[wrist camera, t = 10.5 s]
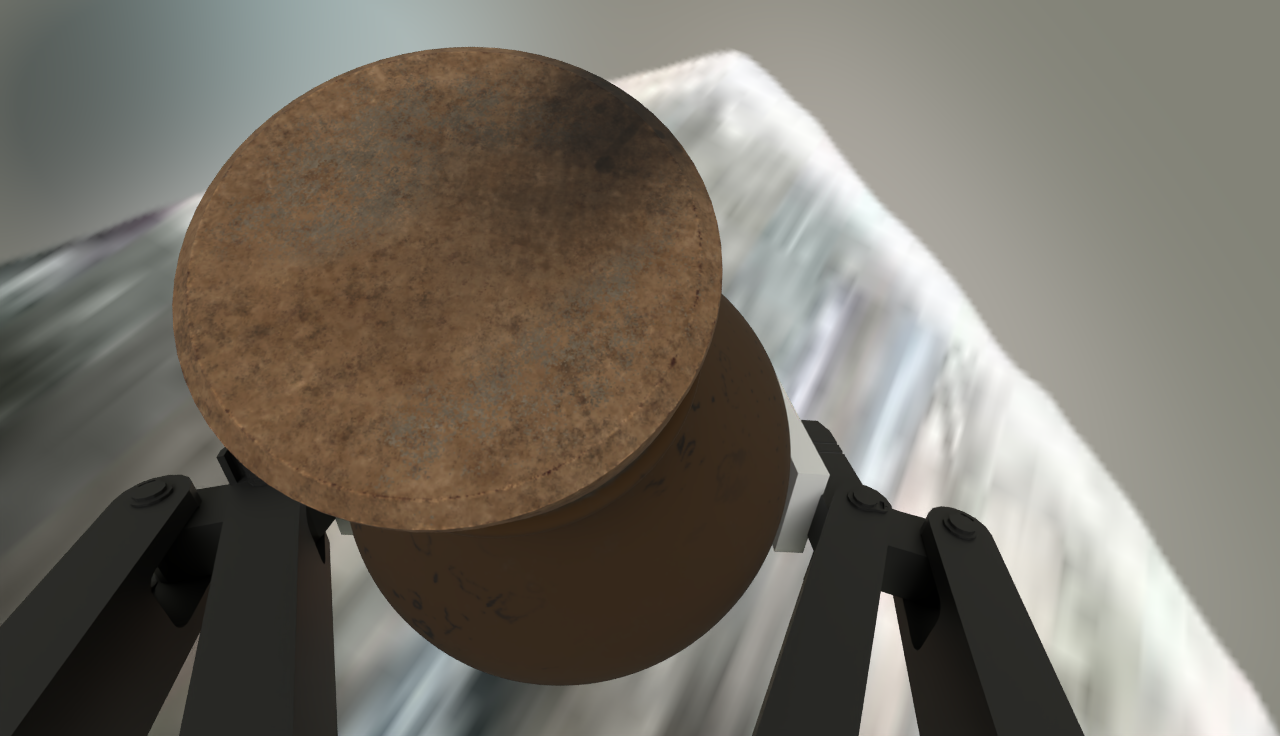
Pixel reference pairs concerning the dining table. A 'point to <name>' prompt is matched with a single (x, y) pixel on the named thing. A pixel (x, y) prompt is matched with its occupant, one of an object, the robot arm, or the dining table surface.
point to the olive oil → (492, 357)
